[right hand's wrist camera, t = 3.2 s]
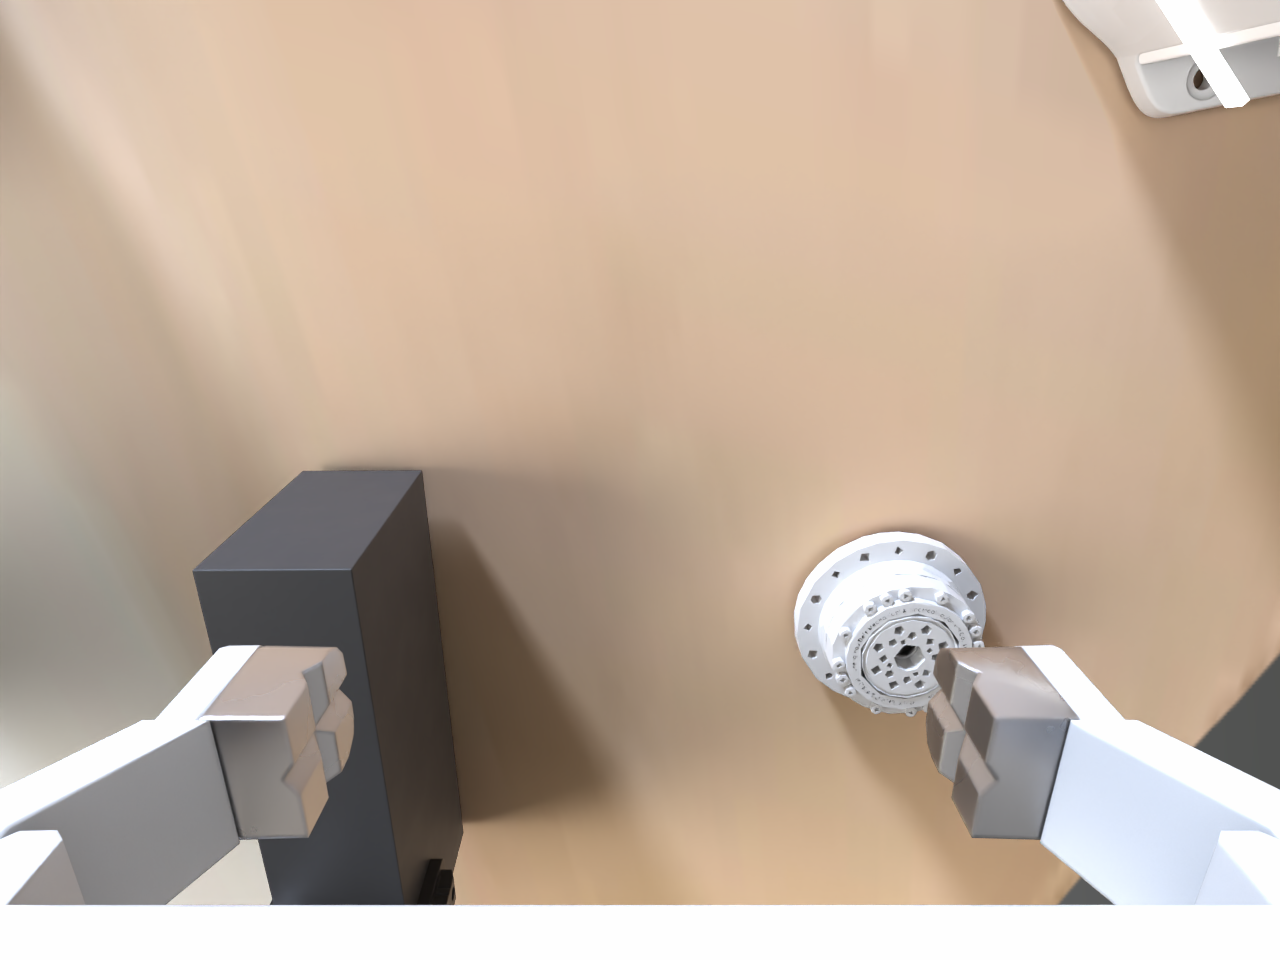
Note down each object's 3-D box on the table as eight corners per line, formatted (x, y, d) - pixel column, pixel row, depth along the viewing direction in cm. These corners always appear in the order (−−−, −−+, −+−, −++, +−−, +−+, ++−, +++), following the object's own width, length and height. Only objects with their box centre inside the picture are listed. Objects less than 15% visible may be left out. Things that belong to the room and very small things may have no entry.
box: (302, 470, 39) (191, 570, 29) (422, 470, 39) (351, 569, 29) (366, 833, 48) (297, 1002, 38) (463, 832, 48) (419, 1001, 38)
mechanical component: (765, 571, 41) (827, 710, 45) (779, 614, 37) (845, 764, 41) (946, 500, 40) (995, 650, 43) (981, 537, 36) (1033, 699, 39)
